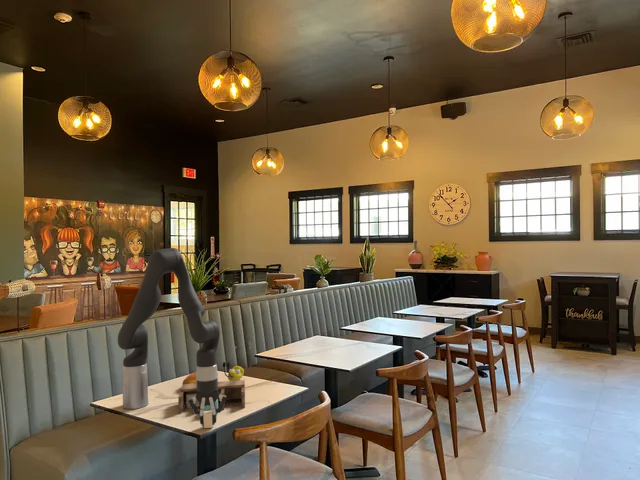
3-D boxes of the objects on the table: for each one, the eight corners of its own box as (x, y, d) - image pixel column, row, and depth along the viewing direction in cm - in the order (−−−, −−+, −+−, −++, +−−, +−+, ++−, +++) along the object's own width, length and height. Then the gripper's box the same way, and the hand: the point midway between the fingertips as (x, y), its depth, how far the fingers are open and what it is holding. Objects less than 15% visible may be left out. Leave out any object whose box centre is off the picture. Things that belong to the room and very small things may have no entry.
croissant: (178, 397, 211) (176, 380, 210) (192, 382, 226) (190, 366, 225) (209, 397, 209) (207, 380, 208) (220, 381, 224) (218, 365, 223)
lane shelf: (178, 413, 185) (178, 394, 185) (183, 402, 198) (182, 384, 198) (244, 407, 188) (244, 389, 188) (245, 397, 202) (244, 379, 202)
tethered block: (200, 428, 168) (200, 414, 168) (205, 410, 186) (205, 398, 186) (215, 427, 169) (214, 413, 169) (218, 409, 186) (217, 397, 186)
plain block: (186, 407, 191) (186, 395, 191) (188, 403, 196) (187, 391, 196) (199, 406, 192) (198, 394, 192) (200, 402, 197) (200, 390, 197)
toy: (248, 358, 218) (231, 362, 204) (247, 389, 216) (230, 395, 202) (236, 357, 220) (219, 361, 206) (235, 388, 218) (218, 394, 205)
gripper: (185, 381, 165) (187, 430, 165) (226, 378, 167) (227, 427, 167) (188, 375, 172) (189, 422, 172) (227, 372, 174) (228, 419, 174)
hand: (208, 424), depth 170 cm, fingers closed on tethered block, 3 cm apart
